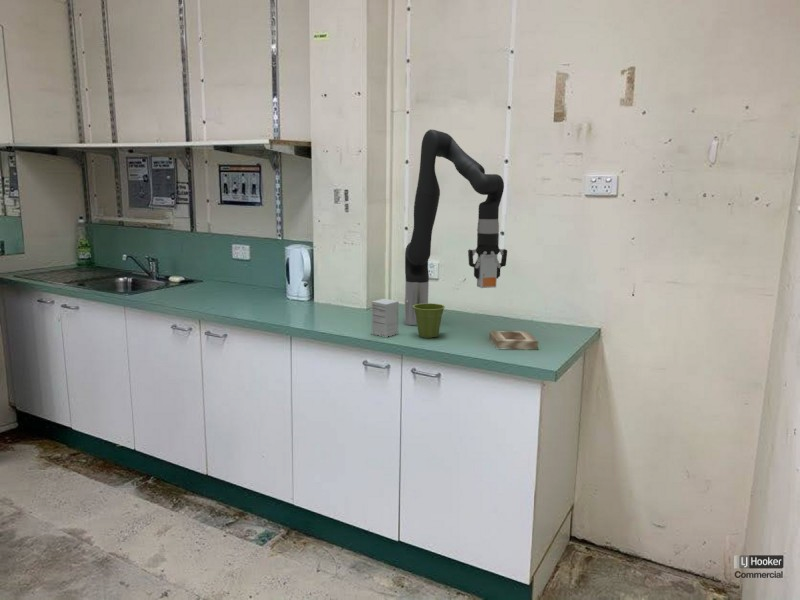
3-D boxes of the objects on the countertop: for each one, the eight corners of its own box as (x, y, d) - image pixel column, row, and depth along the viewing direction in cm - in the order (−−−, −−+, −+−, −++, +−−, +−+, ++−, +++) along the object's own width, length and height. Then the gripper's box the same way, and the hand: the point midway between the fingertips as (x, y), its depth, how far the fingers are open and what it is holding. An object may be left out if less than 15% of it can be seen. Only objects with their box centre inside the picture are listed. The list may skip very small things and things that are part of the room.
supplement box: (383, 330, 222) (384, 298, 219) (398, 334, 217) (399, 301, 215) (370, 334, 216) (371, 301, 213) (385, 337, 211) (386, 303, 209)
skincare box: (481, 288, 207) (482, 255, 204) (476, 286, 211) (477, 253, 208) (497, 287, 208) (497, 254, 206) (492, 285, 212) (492, 252, 210)
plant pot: (440, 331, 222) (441, 302, 220) (447, 339, 210) (448, 309, 208) (409, 332, 220) (410, 303, 218) (415, 340, 209) (415, 309, 206)
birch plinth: (497, 349, 199) (497, 340, 198) (489, 338, 212) (489, 330, 212) (537, 349, 199) (538, 340, 199) (526, 339, 213) (527, 330, 212)
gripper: (469, 232, 202) (469, 280, 205) (510, 232, 202) (509, 279, 206) (466, 231, 209) (465, 277, 212) (505, 230, 210) (504, 276, 213)
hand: (486, 278), depth 209 cm, fingers closed on skincare box, 6 cm apart
